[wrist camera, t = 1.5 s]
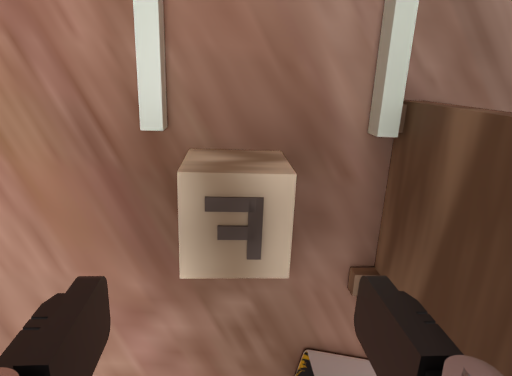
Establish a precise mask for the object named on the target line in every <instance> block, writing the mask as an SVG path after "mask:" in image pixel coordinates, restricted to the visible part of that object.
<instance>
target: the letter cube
mask: <svg viewBox="0 0 512 376" xmlns="http://www.w3.org/2000/svg"><path fill="white" fill-rule="evenodd" d="M296 177H297V174H296V173H295V171H294V170H293V168H292V167H291V165H290V164H289V162H288V161H287V159H286V158H285V156H284V155H283V153H282V152H281V151H266V150H226V149H189V151H188V152H187V154H186V156H185V158H184V160H183V162H182V164H181V166H180V167H179V169H178V171H177V190H178V227H179V265H180V279H202V278H289V270H290V257H291V244H292V230H293V217H294V204H295V191H296Z"/></svg>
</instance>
